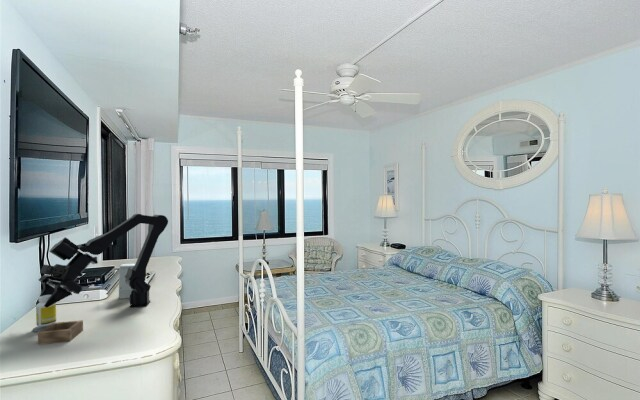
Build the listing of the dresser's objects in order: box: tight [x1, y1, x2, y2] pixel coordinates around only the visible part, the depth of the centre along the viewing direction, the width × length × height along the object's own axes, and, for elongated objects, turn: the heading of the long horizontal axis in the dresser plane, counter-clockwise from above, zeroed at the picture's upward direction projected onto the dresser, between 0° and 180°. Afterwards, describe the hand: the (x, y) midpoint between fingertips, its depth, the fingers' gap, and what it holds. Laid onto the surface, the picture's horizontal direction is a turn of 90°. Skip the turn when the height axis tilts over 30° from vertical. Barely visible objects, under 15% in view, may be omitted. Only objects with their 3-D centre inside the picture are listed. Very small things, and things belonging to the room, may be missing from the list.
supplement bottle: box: [35, 295, 57, 327], centre depth 117 cm, size 5×5×10 cm
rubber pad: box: [32, 325, 49, 333], centre depth 117 cm, size 7×7×1 cm
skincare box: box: [118, 263, 136, 300], centre depth 153 cm, size 8×6×15 cm
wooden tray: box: [37, 319, 84, 345], centre depth 109 cm, size 9×9×4 cm
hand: (41, 305), depth 116 cm, fingers closed on supplement bottle, 5 cm apart
